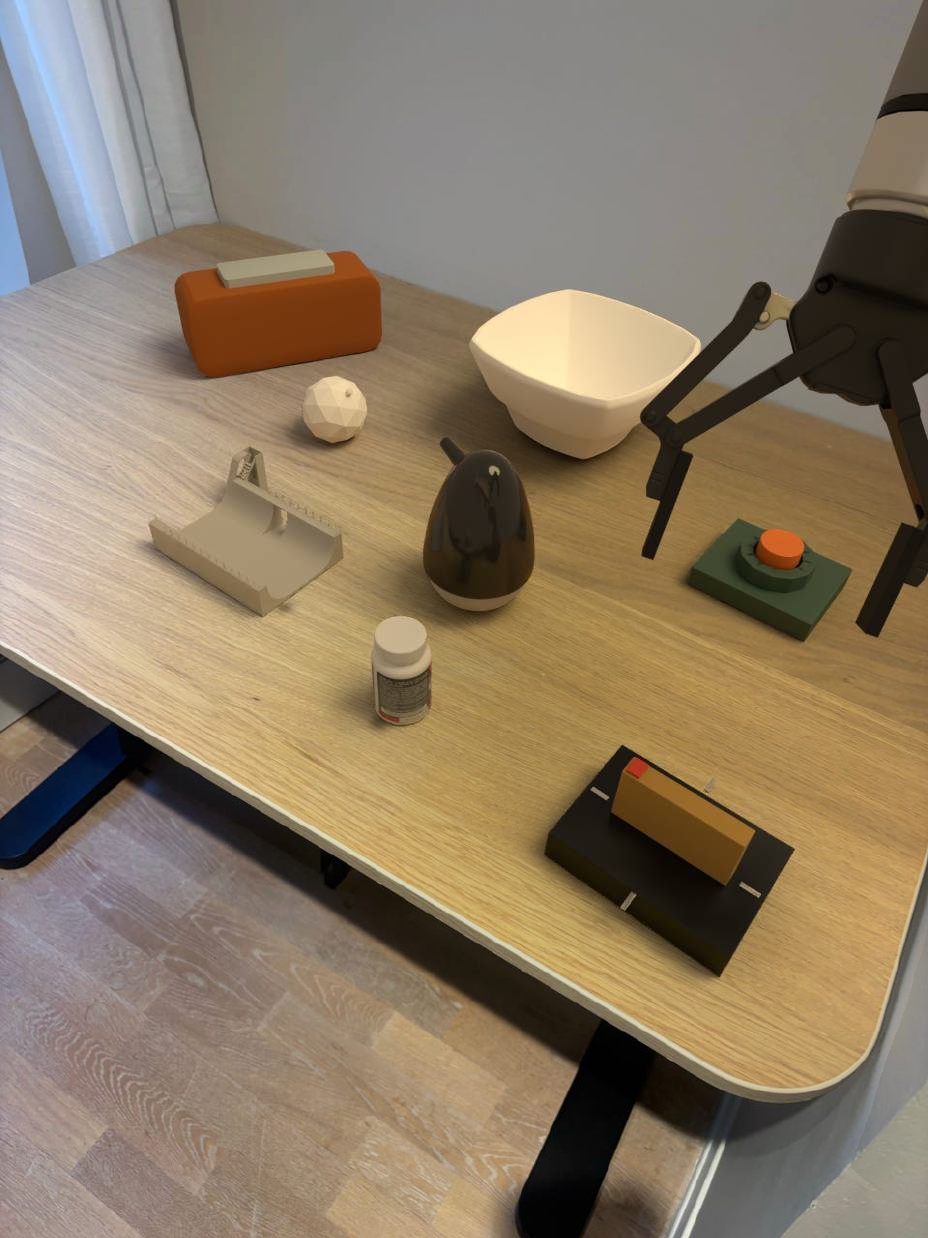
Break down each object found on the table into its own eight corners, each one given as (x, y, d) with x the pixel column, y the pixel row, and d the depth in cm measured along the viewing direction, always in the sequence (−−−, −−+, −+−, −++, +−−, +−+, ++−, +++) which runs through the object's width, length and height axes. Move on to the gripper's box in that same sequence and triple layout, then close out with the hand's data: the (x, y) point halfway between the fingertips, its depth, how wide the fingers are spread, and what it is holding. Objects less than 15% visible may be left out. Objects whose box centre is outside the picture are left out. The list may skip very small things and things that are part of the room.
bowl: (554, 365, 114) (565, 277, 105) (703, 431, 104) (727, 340, 95) (440, 432, 101) (442, 338, 93) (596, 514, 91) (613, 417, 83)
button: (805, 555, 82) (811, 541, 81) (788, 576, 80) (794, 562, 79) (766, 537, 84) (771, 523, 83) (748, 558, 82) (753, 543, 80)
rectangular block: (735, 869, 59) (757, 828, 55) (725, 886, 58) (746, 845, 55) (622, 797, 63) (634, 754, 59) (610, 812, 62) (622, 769, 58)
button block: (844, 585, 85) (859, 554, 82) (804, 642, 79) (818, 610, 76) (732, 534, 90) (742, 503, 87) (686, 583, 84) (696, 552, 81)
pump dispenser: (477, 540, 88) (485, 407, 77) (552, 594, 82) (572, 459, 72) (398, 584, 83) (396, 448, 72) (473, 645, 77) (483, 508, 67)
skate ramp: (155, 548, 85) (143, 506, 81) (256, 485, 93) (249, 445, 89) (263, 616, 79) (255, 574, 75) (361, 544, 87) (359, 502, 83)
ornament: (354, 411, 104) (384, 376, 97) (344, 463, 101) (374, 430, 94) (299, 387, 100) (327, 349, 94) (287, 439, 97) (314, 404, 91)
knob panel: (791, 855, 64) (805, 832, 61) (708, 997, 56) (720, 976, 54) (626, 754, 69) (633, 730, 67) (530, 870, 62) (535, 847, 60)
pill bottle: (441, 712, 72) (444, 642, 66) (391, 735, 70) (389, 665, 64) (413, 674, 75) (412, 604, 69) (363, 696, 73) (359, 625, 67)
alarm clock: (362, 321, 120) (358, 238, 112) (383, 349, 115) (380, 263, 107) (186, 350, 113) (168, 262, 105) (199, 381, 107) (182, 291, 99)
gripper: (1112, 303, 49) (941, 646, 55) (683, 179, 52) (565, 517, 58) (1191, 286, 42) (984, 682, 48) (688, 142, 45) (553, 532, 51)
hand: (754, 592), depth 53 cm, fingers open, 13 cm apart
